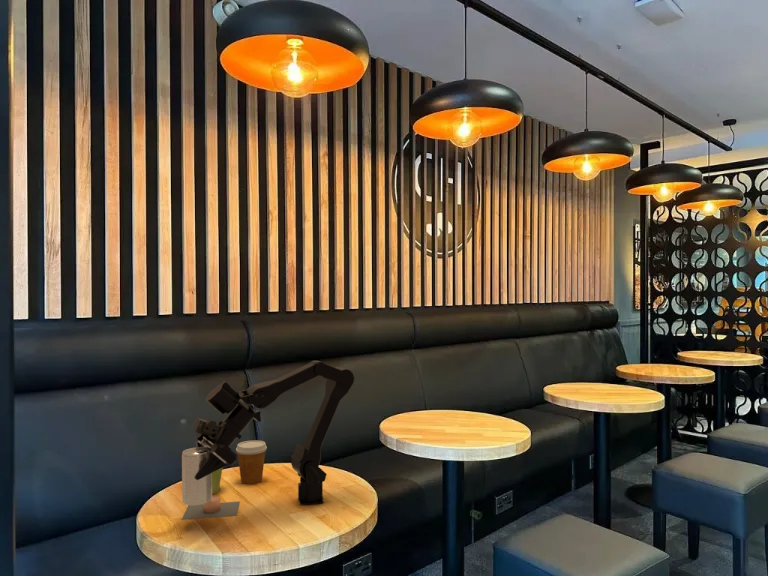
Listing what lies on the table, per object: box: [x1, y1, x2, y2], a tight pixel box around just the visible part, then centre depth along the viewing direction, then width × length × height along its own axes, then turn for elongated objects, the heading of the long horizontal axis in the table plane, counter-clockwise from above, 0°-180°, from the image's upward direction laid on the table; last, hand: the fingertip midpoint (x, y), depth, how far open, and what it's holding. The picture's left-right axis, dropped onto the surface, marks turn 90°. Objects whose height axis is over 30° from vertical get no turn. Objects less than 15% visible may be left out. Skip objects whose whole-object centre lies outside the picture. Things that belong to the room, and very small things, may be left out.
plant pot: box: [212, 467, 224, 495], centre depth 160 cm, size 9×9×9 cm
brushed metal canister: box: [181, 446, 213, 506], centre depth 136 cm, size 7×7×12 cm
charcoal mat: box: [180, 501, 241, 521], centre depth 145 cm, size 14×10×1 cm
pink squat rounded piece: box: [203, 495, 221, 513], centre depth 145 cm, size 4×4×3 cm
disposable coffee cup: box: [235, 440, 268, 485], centre depth 169 cm, size 10×10×12 cm
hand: (191, 475), depth 136 cm, fingers closed on brushed metal canister, 7 cm apart
